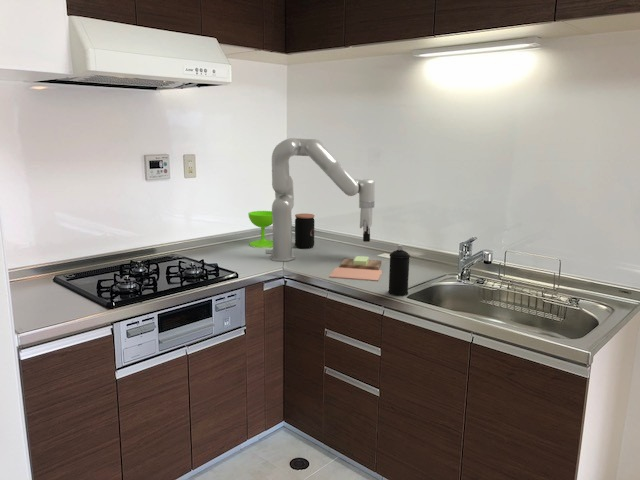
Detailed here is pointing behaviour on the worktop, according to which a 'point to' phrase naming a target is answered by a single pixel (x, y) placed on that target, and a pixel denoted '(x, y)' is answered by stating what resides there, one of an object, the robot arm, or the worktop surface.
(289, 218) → the robot arm
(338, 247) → the worktop surface
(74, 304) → the worktop surface
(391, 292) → the aerosol can
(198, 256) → the worktop surface
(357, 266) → the plate
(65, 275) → the worktop surface
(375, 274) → the mat
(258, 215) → the wineglass
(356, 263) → the sponge
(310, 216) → the coffee jar
